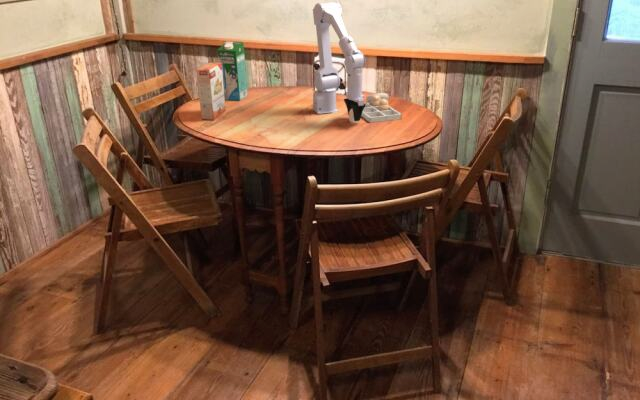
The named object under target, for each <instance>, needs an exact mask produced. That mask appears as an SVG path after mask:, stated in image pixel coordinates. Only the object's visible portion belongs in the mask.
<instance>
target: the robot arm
mask: <svg viewBox="0 0 640 400" xmlns="http://www.w3.org/2000/svg"><path fill="white" fill-rule="evenodd" d="M312 15H313V24H314V25H315V29H316V30H315V31H316V40H317V49H318V60H319V67H318V69H317V70H316V71H315V72H314V81H313V84H314V88H315V89H316V90H317V91H313V93H312V105H313V107H312V110H313V111H314V112H315V113H316V114H317V115H321V114H330V113H336V112H340V110H339V109H337V105H336V104H337V101H336V100H337V91H338V88H339V87H340V85H341V77H340V75H339V70H338V69H337V68H335V67H334V66H333V58H332V57H333V55H332V48H331V47H332V45H331V37H330V36H331V35H330V26H331V27H332V28H333V31H334V32H335V34H336V36H337V37H338V39H339V41H338V46H339V48H340V50H341V52H342V54H343V56H344V60H343V64H344V66H345V72H346V75H347V77H346V80H347V81H346V82H347V84H346V85H347V89H346V92H345V97H346V98H344V99H343V102H344V103H345V106H346V110H347V115H348V116H349V112H350V110H351V109H353V114H354V121H359V122H360V121H361V118H362V116H361V115H362V111H363V109H364V107H365V106H366V104H364V103H365V102H364V99H363V98H365V95H364V94H363V68H364V67H365V66H366V61H367V59H366V56H365V54H364V53H363V52H361V50H359V49H358V47H357V44H356V43H355V41H354V39H353V37H352V36H350V35H348V32H347V29H346V27H345V23H344V21H343V18H342V16H343V9H342V6H341V4H340V2H338V1H333V2H331V1H330V2H323V3H320V2H319V3H318V2H317V3H315V5H314V7H313V9H312Z"/></svg>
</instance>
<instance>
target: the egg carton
mask: <svg viewBox="0 0 640 400" xmlns="http://www.w3.org/2000/svg"><path fill="white" fill-rule="evenodd" d="M364 104H366V106H365V107H364V109H363V111H362V115H361V118H363V119H365V120H366V121H367V122H368V123H370V124H371V123H381V122H388V121H397V120H402V118H403V117H402V114H403V113H401V112H399V111H398V110H396V109H394V108H393V107H391V106H390V105H388V110H385V111H379V106H376V107H373V106H372V105H371V102H369V103H367V102H364Z"/></svg>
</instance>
